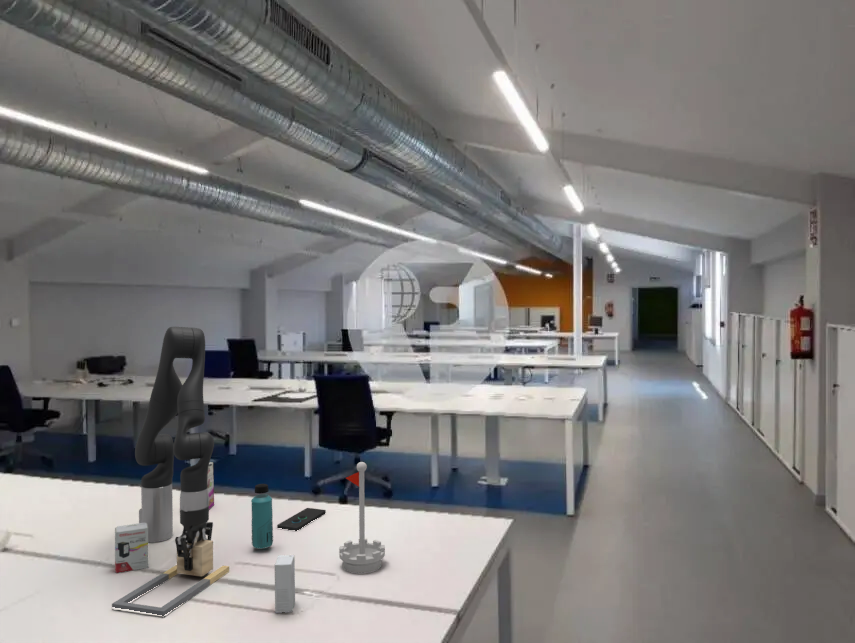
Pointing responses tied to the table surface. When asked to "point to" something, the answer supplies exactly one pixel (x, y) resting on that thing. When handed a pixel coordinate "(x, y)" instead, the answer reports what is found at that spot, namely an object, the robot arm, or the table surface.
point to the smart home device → (301, 519)
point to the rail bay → (173, 603)
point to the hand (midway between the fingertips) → (195, 565)
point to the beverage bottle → (262, 518)
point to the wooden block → (198, 559)
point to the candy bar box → (210, 485)
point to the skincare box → (284, 583)
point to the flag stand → (361, 537)
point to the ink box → (131, 547)
